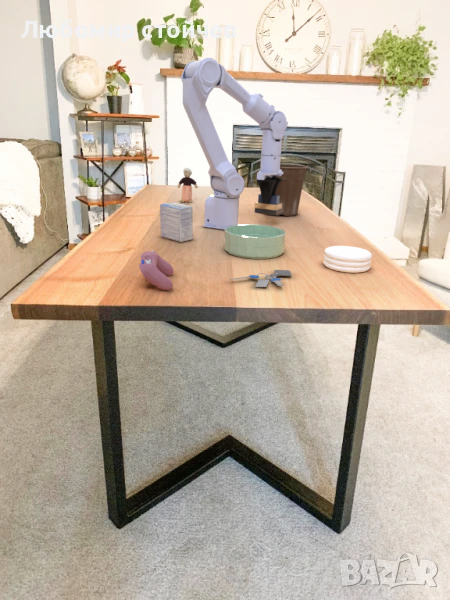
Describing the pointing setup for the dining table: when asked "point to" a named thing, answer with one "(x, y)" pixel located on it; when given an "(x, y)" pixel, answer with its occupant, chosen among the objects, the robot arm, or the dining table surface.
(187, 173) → the grandmother figurine
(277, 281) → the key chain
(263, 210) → the brush
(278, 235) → the bowl
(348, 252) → the white round stacked piece
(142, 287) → the dining table surface
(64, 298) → the dining table surface
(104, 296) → the dining table surface
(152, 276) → the pink curved piece
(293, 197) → the plant pot
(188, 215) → the medicine box
